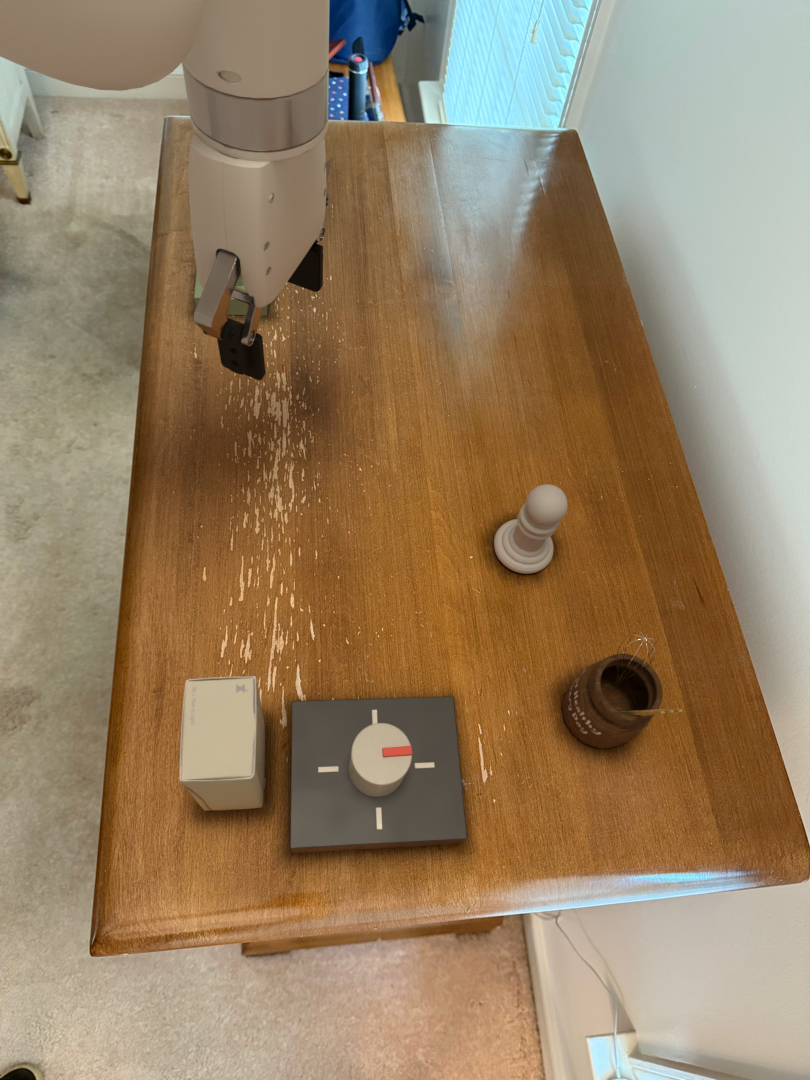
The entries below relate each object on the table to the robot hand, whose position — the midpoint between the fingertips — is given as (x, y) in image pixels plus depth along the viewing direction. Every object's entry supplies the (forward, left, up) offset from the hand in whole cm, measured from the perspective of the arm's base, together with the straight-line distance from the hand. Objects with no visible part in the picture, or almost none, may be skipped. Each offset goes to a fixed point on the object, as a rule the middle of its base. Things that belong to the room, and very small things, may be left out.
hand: (274, 325), depth 54 cm
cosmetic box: (-3, -29, -15) cm, 33 cm away
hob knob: (+7, -30, -12) cm, 33 cm away
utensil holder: (+25, -26, -15) cm, 39 cm away
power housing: (-5, +21, -15) cm, 27 cm away
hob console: (+7, -30, -15) cm, 34 cm away
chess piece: (+21, -11, -15) cm, 28 cm away
